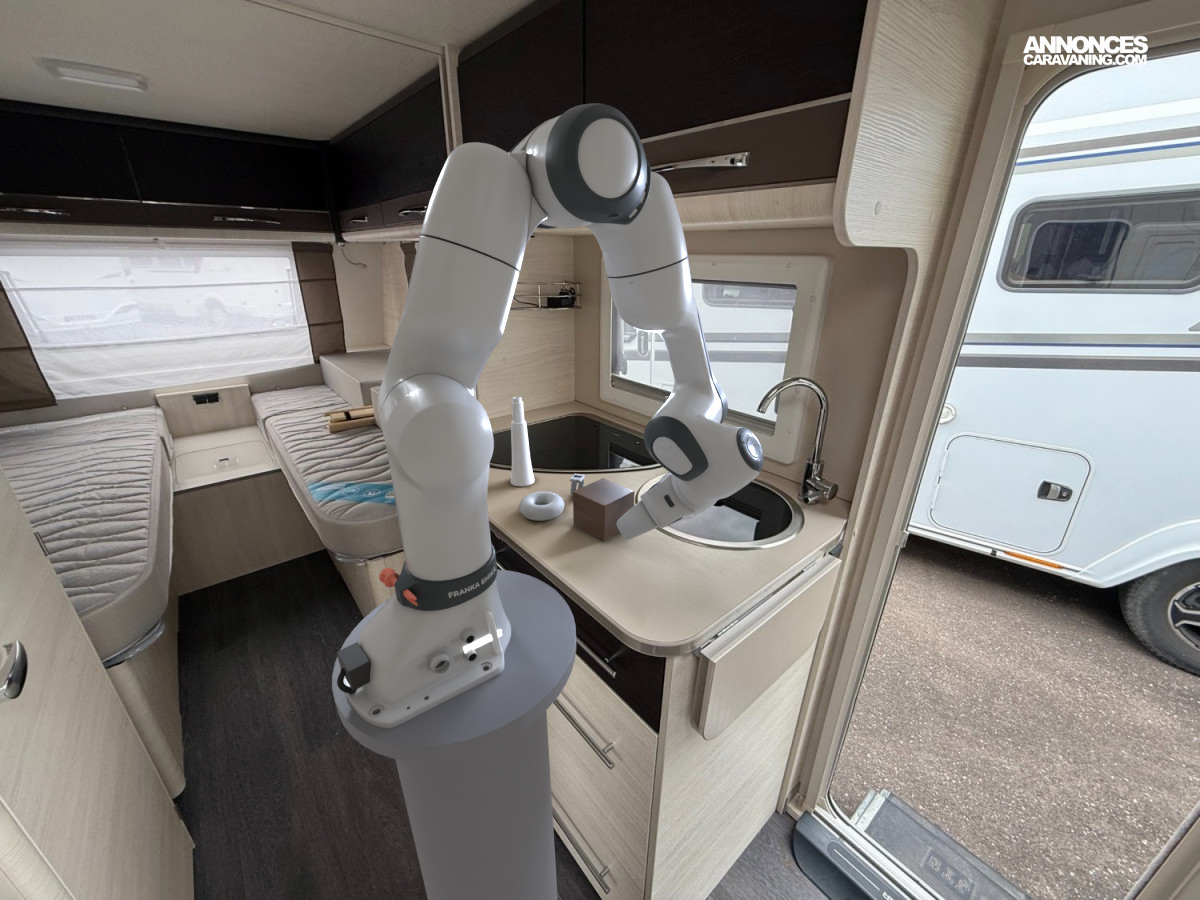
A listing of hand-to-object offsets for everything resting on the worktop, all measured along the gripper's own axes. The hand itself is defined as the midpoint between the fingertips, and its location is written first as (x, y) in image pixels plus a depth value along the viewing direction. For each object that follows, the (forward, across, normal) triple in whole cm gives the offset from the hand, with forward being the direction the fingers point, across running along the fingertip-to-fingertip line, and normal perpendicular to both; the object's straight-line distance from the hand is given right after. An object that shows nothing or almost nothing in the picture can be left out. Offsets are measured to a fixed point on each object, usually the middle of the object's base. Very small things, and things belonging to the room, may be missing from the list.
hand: (638, 522), depth 91 cm
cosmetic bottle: (+31, -2, -24) cm, 40 cm away
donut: (+20, +5, -13) cm, 24 cm away
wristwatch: (+20, -6, -13) cm, 25 cm away
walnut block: (+10, 0, -4) cm, 11 cm away
